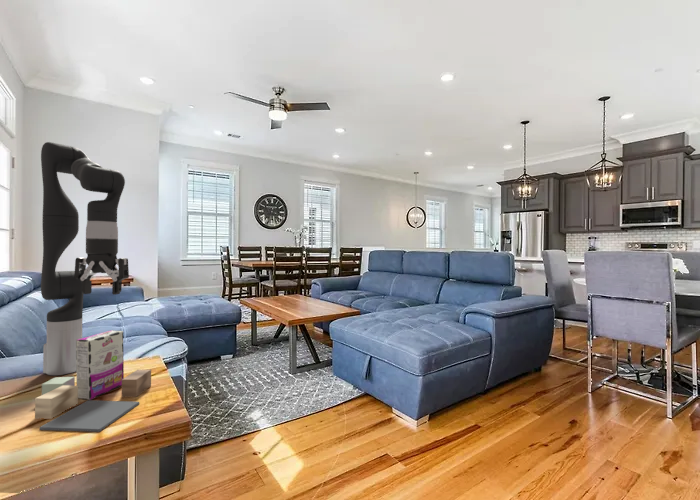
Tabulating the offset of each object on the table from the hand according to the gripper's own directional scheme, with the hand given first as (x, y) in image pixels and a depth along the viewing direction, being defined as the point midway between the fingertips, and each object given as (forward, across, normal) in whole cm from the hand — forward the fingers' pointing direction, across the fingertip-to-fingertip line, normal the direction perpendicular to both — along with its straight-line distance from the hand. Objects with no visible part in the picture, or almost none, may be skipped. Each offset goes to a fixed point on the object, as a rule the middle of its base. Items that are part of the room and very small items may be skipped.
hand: (101, 294), depth 100 cm
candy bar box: (+28, 0, 0) cm, 28 cm away
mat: (+28, -9, +14) cm, 33 cm away
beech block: (+28, +2, +12) cm, 31 cm away
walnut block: (+28, -10, -1) cm, 30 cm away
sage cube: (+28, +8, +5) cm, 30 cm away
